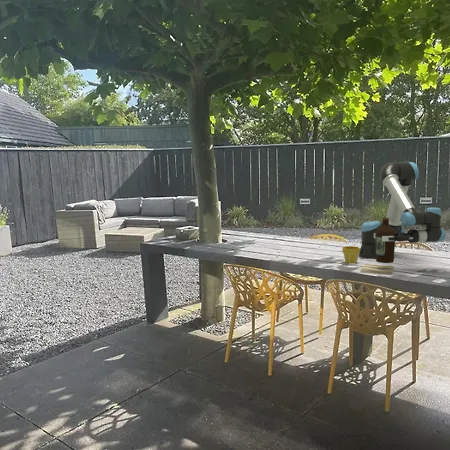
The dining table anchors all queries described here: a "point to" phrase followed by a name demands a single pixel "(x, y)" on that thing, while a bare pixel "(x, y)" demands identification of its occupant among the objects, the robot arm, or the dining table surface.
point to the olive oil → (385, 243)
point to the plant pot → (351, 253)
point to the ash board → (377, 269)
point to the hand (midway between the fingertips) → (378, 237)
